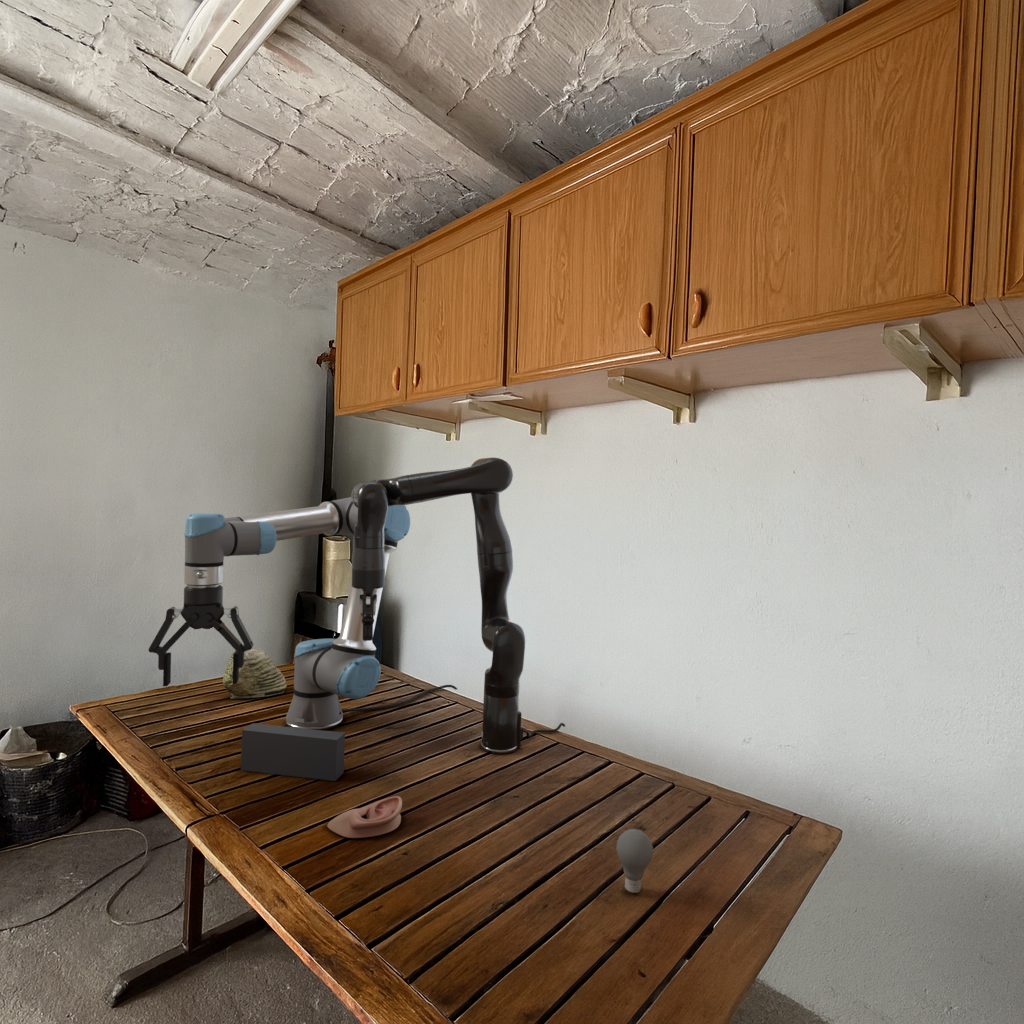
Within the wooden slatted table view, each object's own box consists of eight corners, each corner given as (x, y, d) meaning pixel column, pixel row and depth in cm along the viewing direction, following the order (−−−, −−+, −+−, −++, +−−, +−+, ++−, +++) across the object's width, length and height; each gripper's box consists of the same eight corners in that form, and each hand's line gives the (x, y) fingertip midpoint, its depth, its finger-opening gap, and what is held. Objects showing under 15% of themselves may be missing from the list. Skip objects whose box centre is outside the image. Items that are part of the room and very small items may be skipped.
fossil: (218, 695, 195) (220, 647, 195) (278, 685, 208) (279, 640, 207) (228, 703, 189) (230, 653, 188) (289, 692, 201) (290, 645, 201)
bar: (240, 770, 145) (241, 729, 145) (251, 762, 149) (252, 723, 149) (335, 781, 141) (336, 739, 141) (343, 772, 146) (345, 732, 146)
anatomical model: (320, 812, 119) (347, 786, 130) (319, 833, 119) (347, 805, 130) (386, 822, 116) (408, 795, 127) (385, 844, 116) (408, 814, 128)
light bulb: (610, 879, 108) (613, 822, 108) (644, 879, 109) (647, 822, 109) (619, 902, 102) (622, 840, 102) (655, 901, 103) (658, 840, 103)
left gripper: (133, 588, 129) (131, 691, 130) (263, 587, 135) (260, 686, 136) (144, 582, 136) (142, 680, 137) (267, 582, 143) (265, 676, 143)
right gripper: (385, 570, 141) (384, 642, 142) (384, 563, 155) (383, 629, 156) (351, 570, 139) (350, 644, 140) (352, 563, 153) (352, 630, 154)
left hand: (201, 683), depth 136 cm, fingers open, 13 cm apart
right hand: (367, 636), depth 148 cm, fingers open, 8 cm apart
